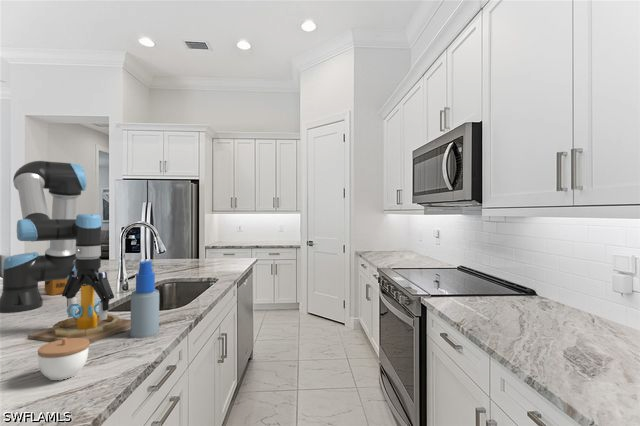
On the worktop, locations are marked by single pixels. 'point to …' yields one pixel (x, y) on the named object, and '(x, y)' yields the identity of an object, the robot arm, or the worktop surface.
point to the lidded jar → (63, 357)
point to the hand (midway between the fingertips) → (87, 318)
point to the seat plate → (49, 336)
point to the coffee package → (55, 286)
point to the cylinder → (86, 308)
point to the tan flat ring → (84, 332)
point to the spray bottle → (145, 304)
